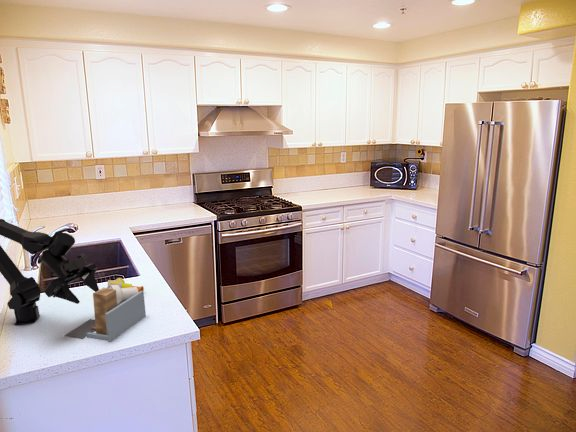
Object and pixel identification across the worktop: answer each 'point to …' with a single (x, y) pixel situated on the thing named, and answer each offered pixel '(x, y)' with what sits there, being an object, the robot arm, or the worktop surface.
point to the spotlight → (123, 292)
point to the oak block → (103, 307)
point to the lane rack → (122, 317)
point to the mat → (82, 330)
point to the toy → (123, 284)
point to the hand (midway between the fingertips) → (89, 297)
